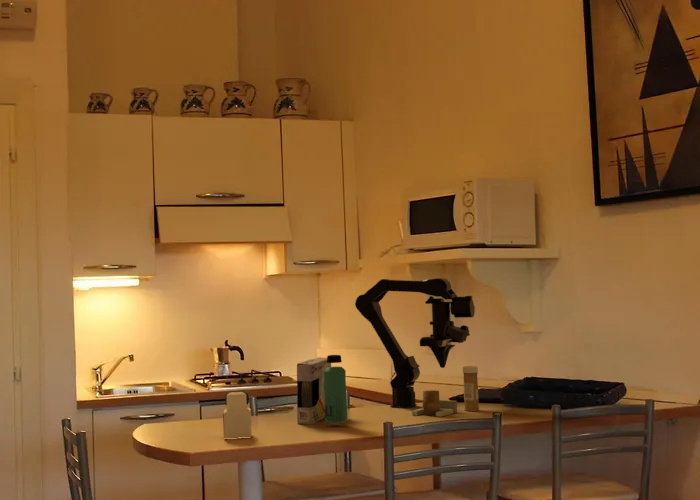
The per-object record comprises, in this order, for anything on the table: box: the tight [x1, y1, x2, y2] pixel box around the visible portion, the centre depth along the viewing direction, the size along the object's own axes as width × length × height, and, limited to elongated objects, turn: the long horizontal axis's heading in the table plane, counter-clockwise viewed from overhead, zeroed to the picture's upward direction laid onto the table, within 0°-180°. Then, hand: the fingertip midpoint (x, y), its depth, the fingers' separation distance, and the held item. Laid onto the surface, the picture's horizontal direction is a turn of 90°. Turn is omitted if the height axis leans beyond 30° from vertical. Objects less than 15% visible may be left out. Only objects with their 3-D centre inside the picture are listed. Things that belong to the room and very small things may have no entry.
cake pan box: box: [296, 356, 332, 425], centre depth 284 cm, size 19×5×18 cm, turn 162°
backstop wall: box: [439, 399, 458, 414], centre depth 293 cm, size 11×1×4 cm, turn 57°
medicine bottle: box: [222, 390, 252, 439], centre depth 256 cm, size 7×7×12 cm
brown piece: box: [422, 389, 440, 417], centre depth 287 cm, size 5×5×7 cm
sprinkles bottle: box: [462, 365, 480, 412], centre depth 295 cm, size 5×5×13 cm
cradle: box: [411, 407, 455, 417], centre depth 288 cm, size 10×8×1 cm
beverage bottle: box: [324, 354, 349, 424], centre depth 270 cm, size 6×7×20 cm
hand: (442, 367), depth 303 cm, fingers closed
